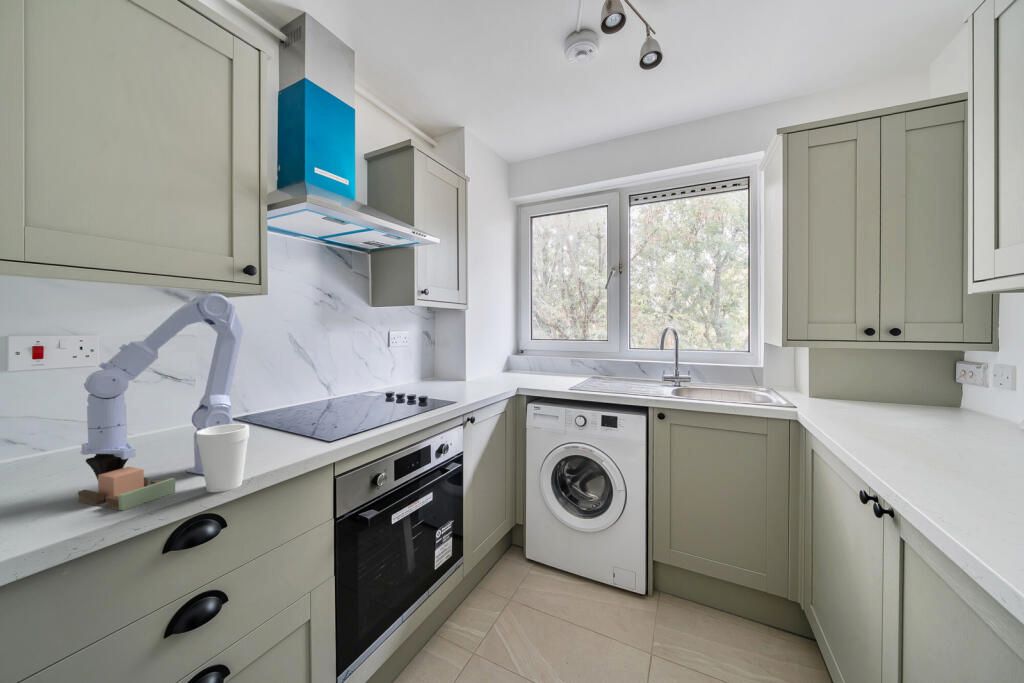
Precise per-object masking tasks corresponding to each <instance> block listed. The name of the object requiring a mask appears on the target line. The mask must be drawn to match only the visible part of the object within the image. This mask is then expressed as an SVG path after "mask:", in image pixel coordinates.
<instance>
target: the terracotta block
mask: <svg viewBox="0 0 1024 683" xmlns="http://www.w3.org/2000/svg"><path fill="white" fill-rule="evenodd" d="M144 471H145V470H144V469H143V468H140V467H139V468H138V467H133V466H126V467H123V468H122V469H118V470H114V471H111V472H107V473H103V474H100V475H98V480H97V485H98V486H97V487H98V492H99V493H103V501H106V497H109V496H112V495H113V496H118V497H119V495H120V494H123V493H127V492H130V491H133V490H136V489H139V488H142V487H144V478H145V477H144V475H145V474H144Z"/></svg>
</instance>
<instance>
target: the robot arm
mask: <svg viewBox="0 0 1024 683" xmlns="http://www.w3.org/2000/svg"><path fill="white" fill-rule="evenodd" d="M201 322H204V323H207V324H208V325H209V326H210V327H211V328H212V329H213V330H214V332H216V336H217V337H216V340H215V346H214V349H213V354H212V358H211V363H210V367H209V373H208V377H207V381H206V384H205V385H206V386H205V391H204V395H203V396H202V397H201V398H200V401H199V405H198V406H197V408H196V409H195V410H194V412H193V413H192V416H191V423H192V425H193V426H194V427H195V428H197V429H196V431H195V432H194V433H193V449H194V451H193V454H194V457H193V459H194V466H192V467H190V468H187V469H185V472H186V473H192V474H197V475H203V476H204V472H203V467H202V462H201V456H200V451H199V446H198V445H197V431H199V430H201V429H205V428H209V427H213V426H219V425H228V424H233V420H234V419H233V416H232V412H231V409H232V402H231V398H230V394H231V389H232V385H233V380H234V375H235V370H236V366H237V362H238V357H239V351H240V347H241V343H242V337H243V333H244V328H243V325H242V323H241V321H240V319H239V315H238V313H237V311H236V306H235V304H234V303H233V302H231V300H229V299H228V297H226V296H225V295H222V294H220V293H217V292H212V293H207V294H202V295H198V296H196V297H195V296H194V298H192V299H191V301H190V302H187V303H185V304H184V305H182V306H181V307H179V308H178V309H176V310H175V311H174V312H173V313H172V314H171V315H170V316H169V317H168V318H167V319H165V321H163V322H162V323H161V324H160V325H159V326H158V327H156V328H155V329H154V330H153V331H152V332H151V333H150V334H149V335H148V336H147V337H145V339H143V340H138V341H136V340H135V341H131V342H129V343H128V344H122V345H120V347H118V349H119V350H120V351H118V352H117V353H116V354H115V355H114V356H112V358H110V359H109V360H107V362H101V363H100V364H98V367H99V368H101V369H100V370H96V371H94V372H92V373H91V374H89V375H88V376H87V377H86V380H85V383H83V386H84V389H85V390H86V391H87V392H88V395H87V403H88V405H87V406H86V415H87V416H86V419H87V420H86V421H87V425H86V426H87V442H85V443H81V450H80V455H83V456H85V455H86V456H87V455H94V456H92V457H89V458H86V459H85V463H86V464H87V465H88V466H89V467H90V468H91V469H92V472H93V474H94V475H95V477H96V479H97V481H98V475H100V474H103V473H107V472H111V471H114V470H118V469H122V468H125V465H126V463H127V462H128V460H129V459H132V458H136V456H137V455H136V452H137V451H136V450H137V449H136V447H134V446H132V445H131V444H130V443H129V442H128V429H127V403H126V402H125V392H126V391H127V390H128V388H129V384H130V382H129V381H132V380H135V379H136V378H137V377H138V376H140V375H141V374H142V373H143V372H144V371H145V370H146V369H147V368H148V367H149V366H151V365H152V364H153V363H154V362H156V360H157V359H159V352H158V351H159V350H160V348H161V347H163V346H164V345H165V344H166V343H168V342H169V341H171V340H172V338H174V337H175V336H176V335H177V334H178V333H179V332H181V331H182V330H183V329H185V328H186V327H188V326H189V325H193V324H197V323H201Z"/></svg>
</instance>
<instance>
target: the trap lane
mask: <svg viewBox="0 0 1024 683" xmlns="http://www.w3.org/2000/svg"><path fill="white" fill-rule="evenodd" d="M150 483H151V484H149V478H148V477H144V487H142V488H139V489H136V490H133V491H130V492H127V493H123V494H120V495H119V497H118V496H113V495H112V496H109V497H106V500H105V502H104V500H103V493H99V491H94V490H88V489H82V490H79V491H77V492H78V494H77V496H78V502H81V503H85V504H89V505H95V506H99V507H102V508H108V509H112V510H116V509H117V510H116V511H120V510H124V511H126V510H125V509H127V510H129V509H131V508H130V507H132V508H134V507H133V506H135V507H137V506H136V505H138V506H140V505H139V504H141V505H143V504H145V503H144V502H146V503H148V501H149V502H152V501H154V499H155V500H157V498H158V499H160V498H163V497H166V496H168V494H169V495H171V493H172V494H174V492H175V493H176V478H175V477H171V478H167V479H164V480H160V479H155V480H151V481H150ZM165 495H166V496H165ZM162 496H163V497H162ZM151 500H152V501H151ZM142 503H143V504H142ZM128 508H129V509H128Z"/></svg>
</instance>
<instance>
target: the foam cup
mask: <svg viewBox="0 0 1024 683" xmlns="http://www.w3.org/2000/svg"><path fill="white" fill-rule="evenodd" d="M249 438H250V426H249V424H246V423H232V424H228V425H219V426H213V427H209V428H205V429H201V430H199V431H197V445H198V446H199V451H200V456H201V462H202V467H203V472H204V475H203V476H204V482H205V487H206V491H207V492H208V491H209V492H208V493H222V492H226V491H231V490H234V489H236V488H238V487H240V486H241V485H243V480H244V479H243V478H244V473H245V464H246V458H247V457H246V456H247V449H248V443H249Z"/></svg>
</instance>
